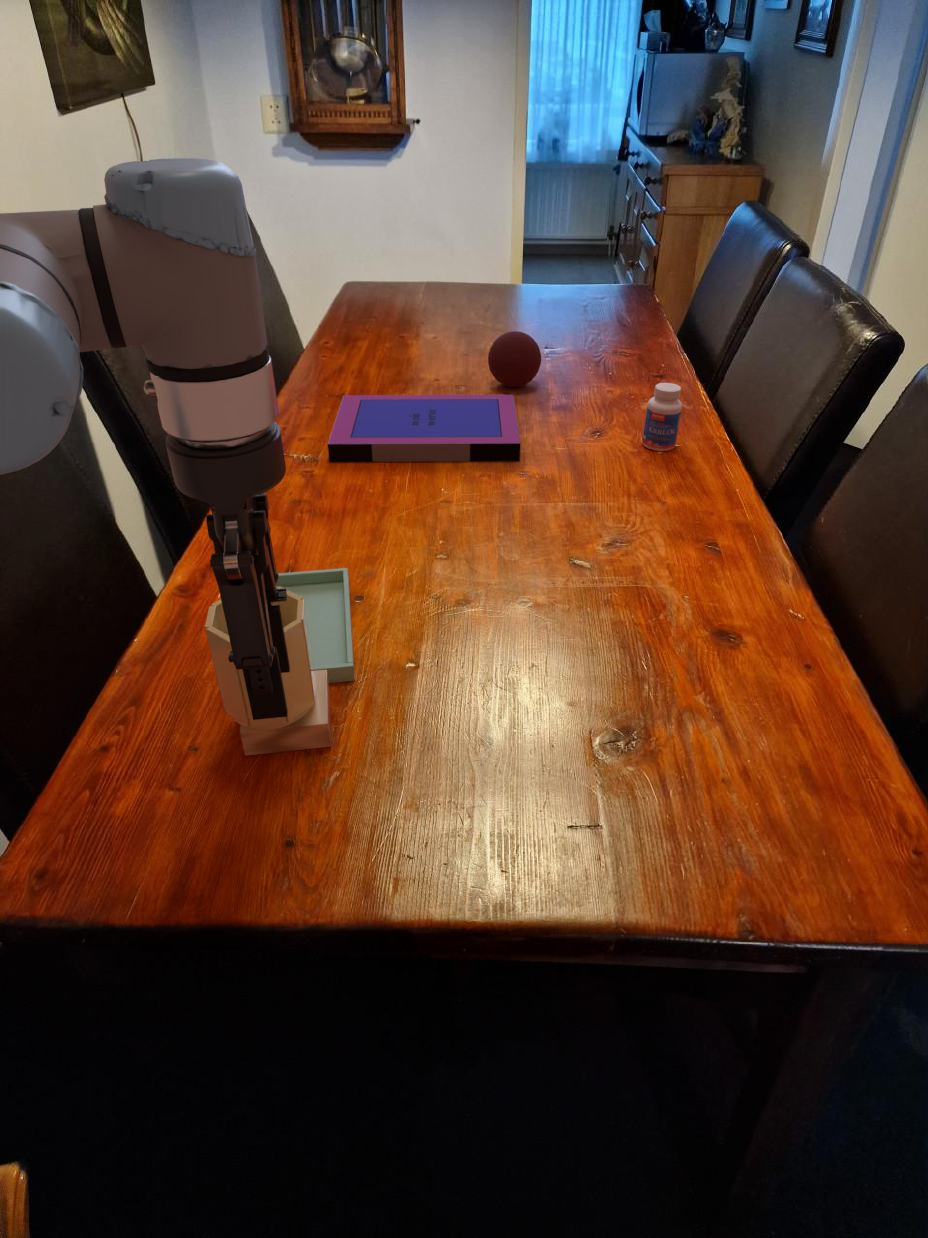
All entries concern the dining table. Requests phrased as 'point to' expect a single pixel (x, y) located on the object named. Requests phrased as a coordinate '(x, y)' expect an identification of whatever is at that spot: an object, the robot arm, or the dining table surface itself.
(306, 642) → the cup
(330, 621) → the tray
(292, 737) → the block
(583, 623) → the dining table surface
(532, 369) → the decorative ball
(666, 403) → the pill bottle
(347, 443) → the book
